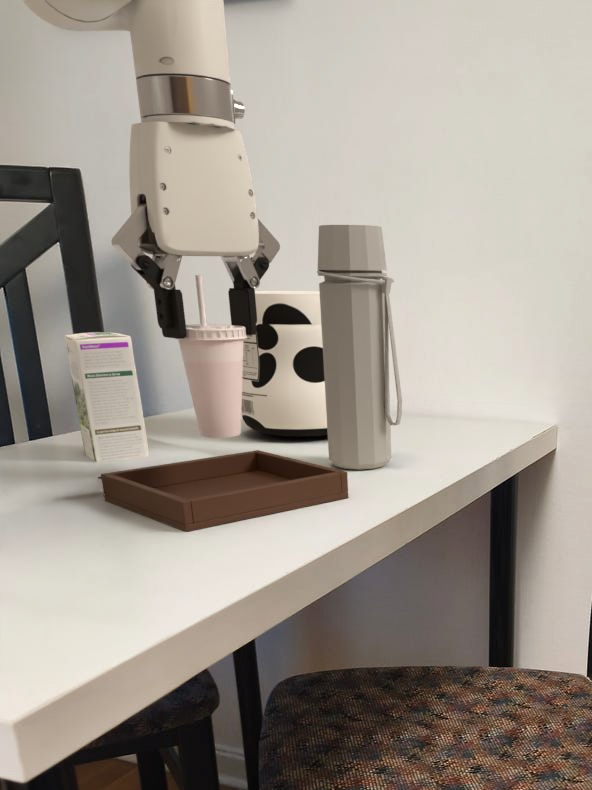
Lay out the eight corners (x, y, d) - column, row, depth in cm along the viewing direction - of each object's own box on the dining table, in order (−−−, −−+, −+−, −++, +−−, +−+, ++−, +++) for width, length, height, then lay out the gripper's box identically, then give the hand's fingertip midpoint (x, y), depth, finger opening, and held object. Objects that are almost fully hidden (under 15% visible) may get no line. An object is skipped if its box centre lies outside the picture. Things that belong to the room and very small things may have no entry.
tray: (185, 531, 76) (182, 502, 75) (104, 500, 86) (100, 473, 85) (348, 497, 88) (347, 471, 87) (260, 473, 98) (258, 449, 97)
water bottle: (314, 468, 101) (298, 224, 91) (352, 456, 107) (341, 228, 98) (384, 476, 97) (375, 224, 88) (419, 463, 104) (414, 227, 94)
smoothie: (198, 428, 88) (181, 274, 82) (263, 429, 87) (250, 275, 82) (175, 439, 82) (155, 275, 76) (245, 440, 82) (230, 276, 76)
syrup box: (153, 474, 97) (134, 334, 92) (97, 480, 94) (73, 336, 89) (139, 465, 102) (120, 331, 96) (84, 470, 98) (61, 332, 93)
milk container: (386, 425, 128) (381, 291, 121) (342, 447, 113) (334, 294, 106) (275, 420, 132) (264, 290, 125) (217, 440, 116) (202, 293, 109)
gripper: (251, 125, 82) (268, 330, 89) (63, 101, 71) (99, 338, 78) (299, 117, 78) (312, 333, 85) (106, 89, 66) (140, 343, 73)
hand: (210, 333), depth 81 cm, fingers closed on smoothie, 6 cm apart
